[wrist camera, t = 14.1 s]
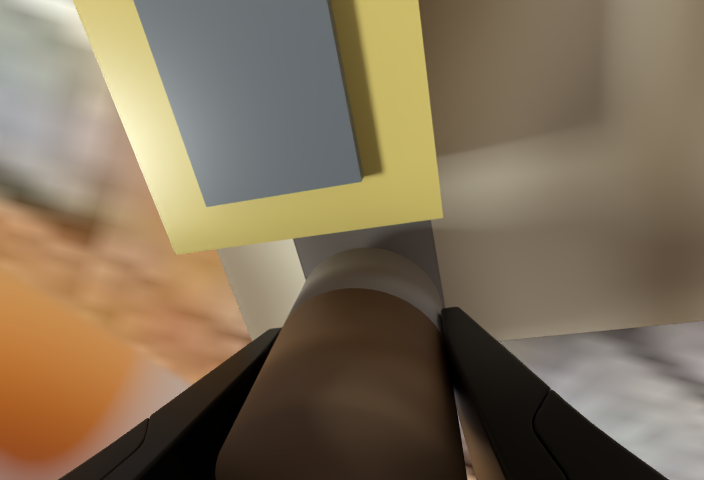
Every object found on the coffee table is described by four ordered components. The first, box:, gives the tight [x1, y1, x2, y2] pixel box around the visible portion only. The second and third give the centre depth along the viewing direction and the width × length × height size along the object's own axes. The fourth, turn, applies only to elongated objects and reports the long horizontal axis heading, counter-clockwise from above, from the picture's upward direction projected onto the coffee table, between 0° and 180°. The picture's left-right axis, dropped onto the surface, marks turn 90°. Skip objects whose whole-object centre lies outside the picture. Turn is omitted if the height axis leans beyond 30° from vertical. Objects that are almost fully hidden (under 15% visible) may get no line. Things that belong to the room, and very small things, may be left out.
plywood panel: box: [216, 0, 704, 341], centre depth 9 cm, size 20×14×1 cm
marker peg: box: [215, 248, 467, 480], centre depth 8 cm, size 4×4×5 cm
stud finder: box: [73, 0, 443, 255], centre depth 7 cm, size 4×7×5 cm, turn 11°
